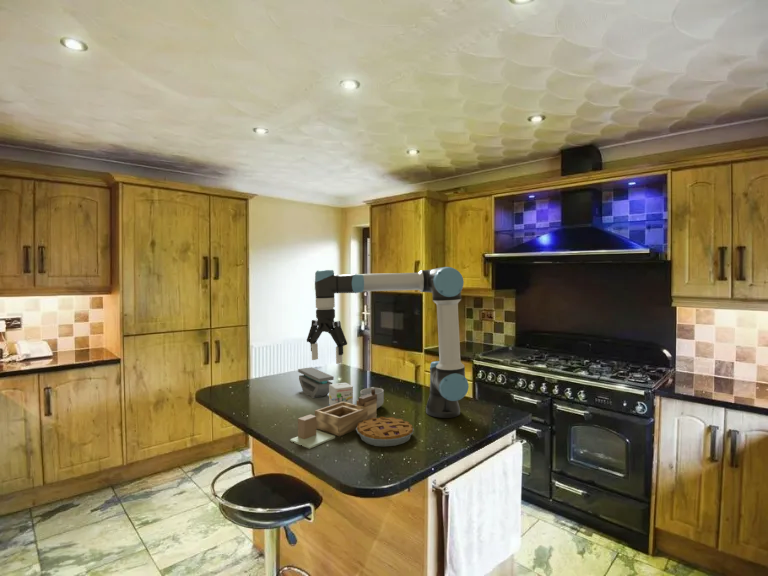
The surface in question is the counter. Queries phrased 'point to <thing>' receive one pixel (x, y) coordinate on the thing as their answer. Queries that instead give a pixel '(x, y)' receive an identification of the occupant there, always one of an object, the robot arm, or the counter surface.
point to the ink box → (340, 393)
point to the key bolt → (367, 397)
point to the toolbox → (344, 416)
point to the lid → (310, 433)
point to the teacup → (377, 391)
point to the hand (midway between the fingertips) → (326, 361)
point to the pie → (385, 431)
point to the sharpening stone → (314, 382)
